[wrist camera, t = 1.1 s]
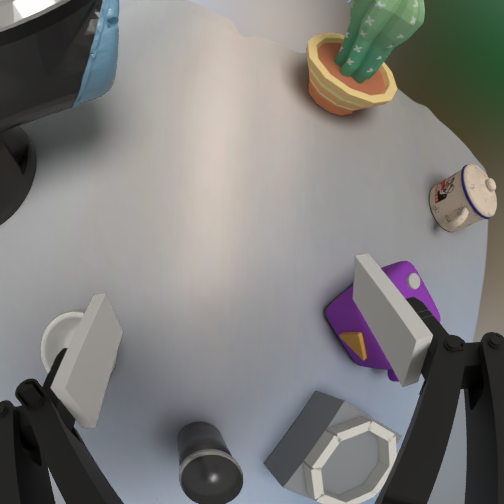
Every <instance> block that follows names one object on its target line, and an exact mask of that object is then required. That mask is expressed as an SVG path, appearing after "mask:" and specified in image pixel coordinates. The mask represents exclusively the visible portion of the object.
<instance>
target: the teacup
mask: <svg viewBox="0 0 504 504" xmlns="http://www.w3.org/2000/svg"><path fill="white" fill-rule="evenodd" d="M84 314H85V313H83V312H67V313H64V314H61V315H59V316H58V317H56V318H55V319H54V320H52V321H51V322H50V324H49V325H48V326H47V328H46V330H45V332H44V334H43V337H42V341H41V358H42V362H43V365H44V367H45V369H46V371H47V373H49V371H50V369H51V367H52V365H53V362H54V360H55V358H56V356H57V355H58V353H59V352H60V351H61V350H62V349H63V348H68V347H69V345H70V342H71V340H72V338H73V336H74V334H75V332H76V330H77V328H78V326H79V324H80V322H81V320H82V318H83V316H84ZM116 361H117V354H116V357H115V360H114V363H113V367H112V370H111V373H112V371H113V370H114V368H115V365H116ZM111 373H110V374H111Z"/></svg>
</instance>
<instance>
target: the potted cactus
mask: <svg viewBox="0 0 504 504" xmlns="http://www.w3.org/2000/svg"><path fill="white" fill-rule="evenodd" d="M350 1H351V0H347V2H348V3H350ZM424 15H425V9H424V0H354V2H353V4H352V6H351V13H350V24H349V27H348V30H347V32H346V35H345V36H344V35H341V34H338V33H318V34H317V35H316V36H314V37H313V38H312V39H310V40H309V41H308V44H307V48H306V51H307V61H308V65H309V78H310V81H309V82H308V86H309V93H310V95H311V96H312V97H313V99H314V100H315V102H316V103H317V104H318V105H320V106H321V107H323V108H324V109H325V110H327V111H328V112H331V113H335V114H338V115H341V116H342V115H347V114H352V112H353V111H354V110H359V109H364V108H368V107H371V106H377V105H383V104H386V103H388V102H389V101H391V100H392V98H393V96H394V94H395V92H396V90H397V87H396V84H395V80H394V77H393V74H392V72H391V70H390V69H389V68H388V67H387V65H386V64H385V63H384V60H385V59H386V58H387V56H388V55H389V54H390V52H391V51H392V50H393V48H395V47H396V46H398V45H399V44H401V43H402V42H404V41H406V40H407V39H408V38H409V37H410V36H411V35H412V34H413V33H414V32H415V31H416V30H417V29H418V28H419V27H420V26H421V25H422V24H423V22H424Z"/></svg>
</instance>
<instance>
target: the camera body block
mask: <svg viewBox="0 0 504 504" xmlns="http://www.w3.org/2000/svg"><path fill="white" fill-rule="evenodd" d="M401 436H402V435H400V434H398V433H397V432H395V431H393V430H392V429H390V428H388V427H386V426H385V425H383V424H381V423H380V422H378V421H376V420H375V419H373V418H372V417H370V416H368V415H367V414H365V413H363V412H362V411H360V410H359V409H357V408H355V407H354V406H352V405H351V404H349V403H347V402H346V401H344V400H341V399H338V398H335V397H332V396H329V395H326V394H324V393H321V392H318V391H315V393H314V394H313V396H312V397H311V399H310V400H309V402H308V403H307V405H306V406H305V408H304V409H303V411H302V412H301V414H300V415H299V416H298V418H297V419H296V421H295V422H294V424H293V425H292V426H291V428H290V429H289V431H288V432H287V433H286V435H285V436H284V437H283V439H282V440H281V441H280V443H279V444H278V446H277V447H276V448H275V449H274V451H273V452H272V453H271V455H270V456H269V457H268V459H267V460H266V461H265V463H264V464H265V466H266V467H267V468H268V469H269V471H270V472H271V473H272V474H273V476H274V477H275V478H276V479H277V481H278V482H279V483H280V484H281V486H282V487H283V488H286V489H288V490H290V491H293V492H295V493H298V494H300V495H302V496H305V497H307V498H310V499H313V500H315V501H317V502H320V503H323V504H359V503H361V502H364V501H366V500H368V499H370V498H372V497H374V496H375V494H378V492H379V491H380V489H381V488H382V487H383V485H384V484H385V482H386V480H387V477H388V475H389V473H390V471H391V469H392V467H393V464H394V462H395V460H396V457H397V456H396V445H397V443H398V441H399V440H400V438H401Z"/></svg>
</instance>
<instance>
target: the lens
mask: <svg viewBox="0 0 504 504" xmlns="http://www.w3.org/2000/svg"><path fill="white" fill-rule="evenodd" d="M178 451H179V463H180V469H179V482H180V485H181V488H182V490H183V491H184V493H185V494H186V495H187V496H188V497H189V498H190V499H191V500H192V501H194V502H196V503H198V504H226V503H228V502H230V501H231V500H233V499H234V498H235V497H236V496H237V495H238V494H239V493H240V491H241V489H242V485H243V474H242V470H241V468H240V466H239V465H238V463H237V461H236V460H235V459H234V458H233V457H232V455H231V453H230V452H229V450H228V448H227V446H226V444H225V442H224V440H223V438H222V436H221V434H220V432H219V431H218V430H217V429H216V428H215V427H214V426H213V425H211V424H209V423H205V422H193V423H190V424H188V425H186V426H185V427H184V428H183V429H182V430H181V431H180V433H179V436H178Z"/></svg>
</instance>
